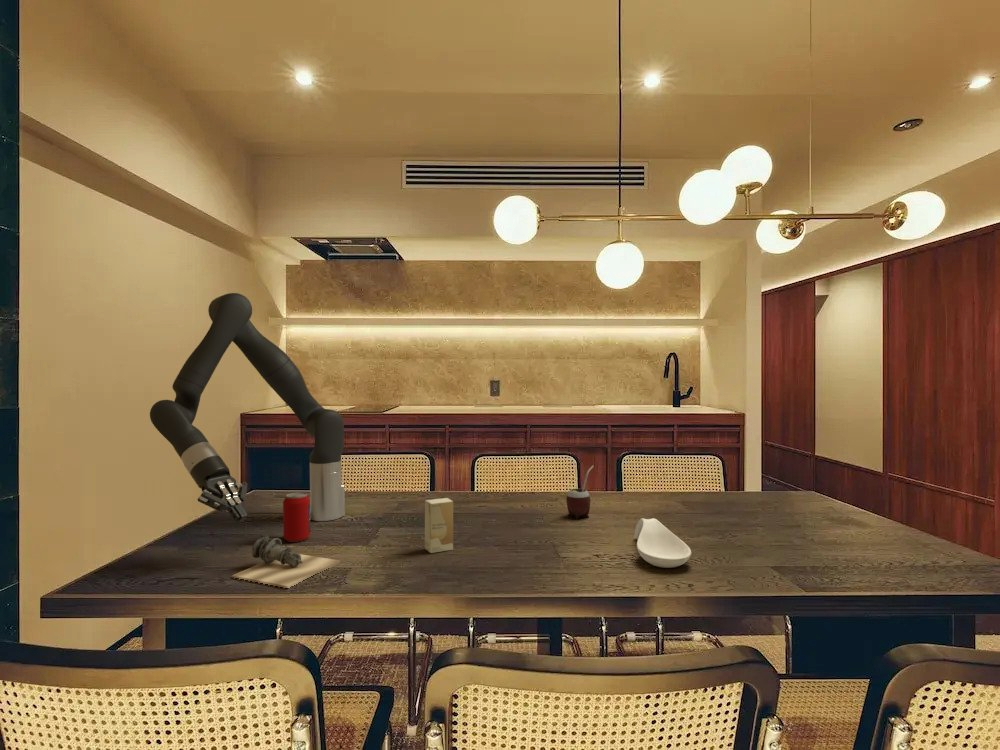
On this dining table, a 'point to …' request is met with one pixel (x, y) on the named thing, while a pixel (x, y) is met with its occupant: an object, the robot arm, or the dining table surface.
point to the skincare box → (438, 525)
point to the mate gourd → (579, 501)
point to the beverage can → (296, 517)
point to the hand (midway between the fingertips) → (242, 519)
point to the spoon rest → (660, 544)
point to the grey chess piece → (274, 551)
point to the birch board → (286, 571)
